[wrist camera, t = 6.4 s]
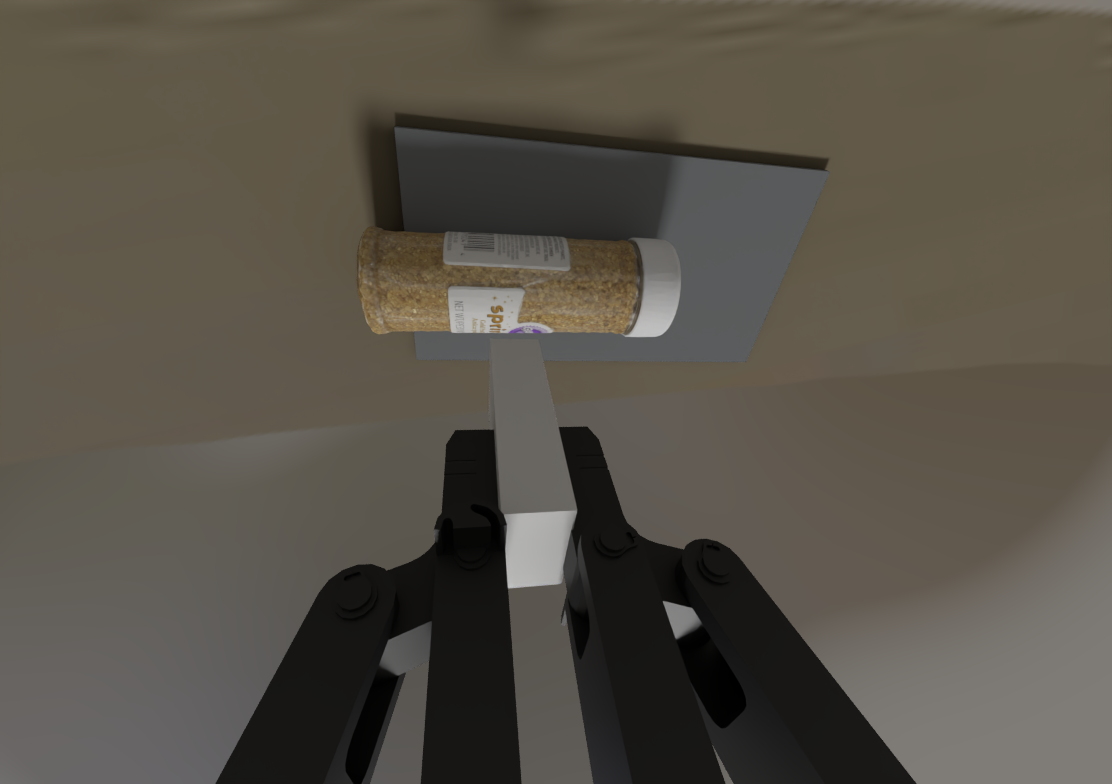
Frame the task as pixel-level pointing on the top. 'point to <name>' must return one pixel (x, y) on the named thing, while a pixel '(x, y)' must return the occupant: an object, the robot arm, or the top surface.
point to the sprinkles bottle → (516, 283)
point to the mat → (617, 230)
